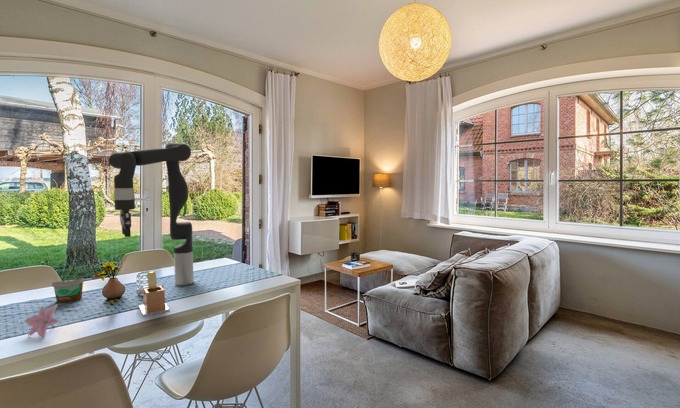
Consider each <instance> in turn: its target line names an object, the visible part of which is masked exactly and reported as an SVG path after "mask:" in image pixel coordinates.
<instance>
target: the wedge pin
mask: <svg viewBox="0 0 680 408" xmlns="http://www.w3.org/2000/svg"><path fill="white" fill-rule="evenodd" d="M146 276H147V282H148V283H147V284H148V285H147V286H149V292H152V291H157V290H158V289H157V284H158V282H157V281H158V280H157V274H156V270H155V271H154V270H153V271H148V272H147V273H146Z"/></svg>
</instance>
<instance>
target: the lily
mask: <svg viewBox="0 0 680 408" xmlns="http://www.w3.org/2000/svg"><path fill="white" fill-rule="evenodd" d="M58 304H59V303H58ZM58 304H57V303H56V304H54V305H52V306H51V307H49V308H47V309H46V308H45V307H44V306H43V305H41V307H40V309H39V310H38V314H36V315H33V316H29V317H27V318H25V319H24V320H23V321H24V323H25V324H26V325H28V326H30V327H31V329H30V330H29V333H28V334H27V336H29V335H30V336H29V337H31V336H32V335H34V334H36V333H37V335H38V336H39V337H40V338H41V337H45V335H46V332H47V330H48V327H49V326H51V328H52V329H55V327H54V324H57V323H59V322H60V321H59V320H58V319H57V318H55V317H54V313H55V311H57V310H56V309H57V308H58Z"/></svg>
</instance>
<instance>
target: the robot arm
mask: <svg viewBox="0 0 680 408" xmlns="http://www.w3.org/2000/svg"><path fill="white" fill-rule="evenodd" d="M191 156H192V149H191V148H190V146H189V145H188V144H186V143H182V142H169V143H167V144H166V145H165V148H145V149H137V150H132V151H131V150H130V151H120V152H114V153H112V154H111V155H110V156H109V158H108V163H109V165H110V166H111V167H112V168H115V169H119V173H118V174H116V175H114V178H113V186H114V187H113V188H114V189H113V190H114V191H113V199H114V202H113V203H114V210H115V211H119V212H120V213H119V222H120V226H121V233H122V235H123V236H124V238H129V237H131V236H132V234H131V227H132V214H131V212H130V210H134V209H135V208H136V199H135V189H134V176H135V171H136V168H137V167H139V166H141V167H142V166H147V165H153V164H158V163H166V169H167V180H168V181H167V183H168V200H169V236H170V238H171V240H173V241H177V240H179V241H180V240H185V241H184V242H182V243H181V244H178V245H176V246H174V248H173V261H174V284H175V285H176V286H187V285H191V284H193V283H194V282H195V281H194V280H195V279H194V255H193V253H194V252H193V224H192V223H191V222H190V221H181V222H178V221H177V219H178V217H179V215H180V213H181V211H182V209H183V208H184V206H185V205H186V203H187V202H188V199H189V187H188V183H187V181H186V179H185V178H184V176H183V173H182V172H181V168H180V162H185V161H187V160H189V159H190V157H191Z"/></svg>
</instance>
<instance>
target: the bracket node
mask: <svg viewBox="0 0 680 408" xmlns="http://www.w3.org/2000/svg"><path fill="white" fill-rule="evenodd" d="M157 289H158V290H157V291H152V292H149V285H147V286H146V285H145V286H143V287H142V288H139V289H137V295H138V296H142V295H143V304H140V305H138V309H139V311H140V313H141V315H142V317H143V316H144V317H148V316H152V315H151V314H153V315H156V314H155V313H158V314H161V312H162V313H166V311H167V312H170V311H171V310H170V309H171V308H170V307H169V306H168V304H167V303H166V295H165V287H164V285H159V284H158V283H157ZM147 315H148V316H147Z"/></svg>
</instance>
